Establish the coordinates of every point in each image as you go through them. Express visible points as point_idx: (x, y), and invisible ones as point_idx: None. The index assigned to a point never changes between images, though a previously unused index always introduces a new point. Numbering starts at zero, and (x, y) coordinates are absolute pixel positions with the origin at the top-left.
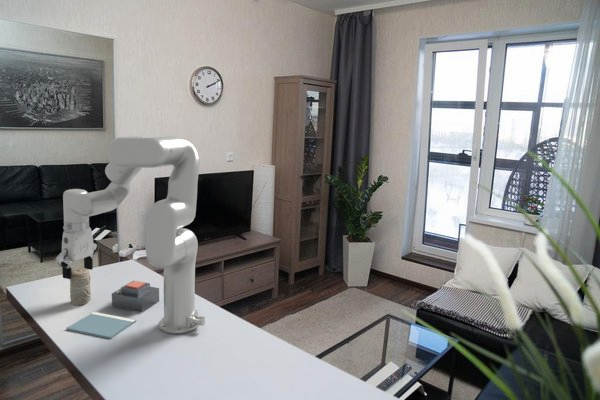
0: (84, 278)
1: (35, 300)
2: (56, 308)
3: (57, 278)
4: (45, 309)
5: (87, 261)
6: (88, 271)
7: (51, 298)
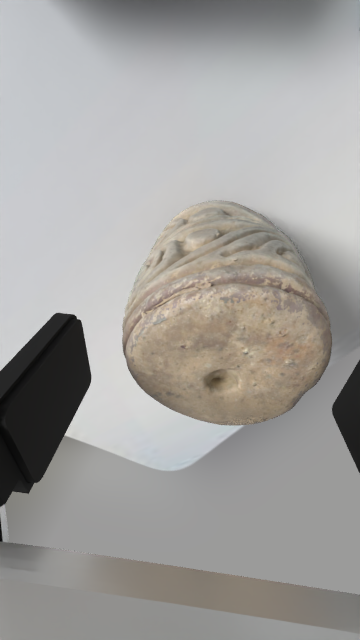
0: (277, 254)
1: None
2: None
3: (69, 428)
4: None
5: (42, 421)
6: (174, 291)
7: None
